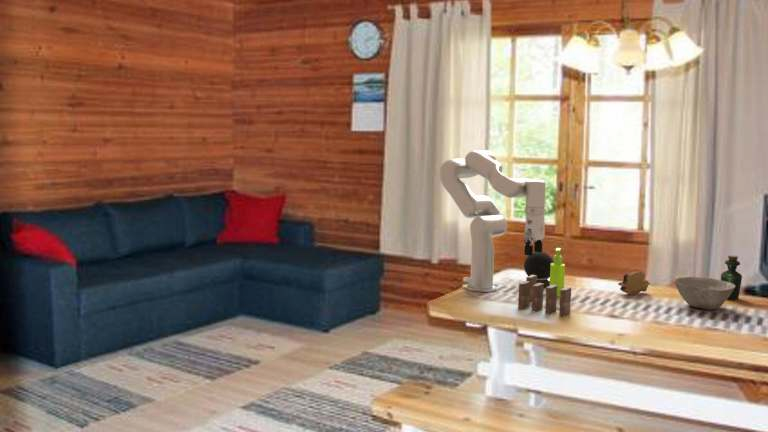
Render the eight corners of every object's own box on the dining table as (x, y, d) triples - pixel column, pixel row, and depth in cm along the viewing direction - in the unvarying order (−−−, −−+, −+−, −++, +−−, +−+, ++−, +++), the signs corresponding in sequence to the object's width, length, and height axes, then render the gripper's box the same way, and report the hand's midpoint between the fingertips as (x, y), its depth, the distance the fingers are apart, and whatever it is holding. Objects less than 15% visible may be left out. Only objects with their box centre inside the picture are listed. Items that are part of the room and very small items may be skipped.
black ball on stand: (559, 287, 327) (560, 253, 325) (531, 288, 324) (532, 254, 322) (544, 281, 340) (546, 248, 338) (518, 282, 336) (519, 249, 335)
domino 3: (531, 311, 285) (532, 285, 284) (537, 308, 290) (538, 282, 289) (536, 311, 284) (537, 286, 283) (542, 308, 289) (543, 283, 288)
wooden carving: (640, 291, 323) (642, 268, 322) (649, 293, 320) (651, 270, 318) (615, 295, 314) (616, 271, 313) (624, 297, 311) (625, 273, 309)
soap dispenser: (548, 296, 309) (550, 248, 307) (549, 293, 316) (551, 246, 313) (562, 297, 308) (565, 249, 305) (564, 294, 314) (566, 247, 312)
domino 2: (525, 301, 300) (526, 277, 299) (531, 298, 305) (532, 274, 304) (530, 302, 299) (531, 277, 298) (536, 299, 304) (537, 275, 303)
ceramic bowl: (703, 316, 281) (705, 290, 280) (659, 302, 303) (661, 278, 301) (747, 312, 290) (749, 287, 288) (701, 298, 311) (703, 275, 310)
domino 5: (559, 315, 279) (560, 289, 278) (564, 312, 284) (566, 286, 283) (564, 316, 278) (565, 290, 277) (570, 313, 283) (571, 287, 282)
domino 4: (545, 313, 282) (546, 287, 281) (551, 310, 287) (552, 284, 286) (550, 314, 281) (551, 288, 280) (556, 311, 286) (557, 285, 285)
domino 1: (518, 308, 288) (519, 283, 287) (524, 305, 293) (525, 280, 292) (522, 309, 287) (524, 284, 286) (529, 306, 292) (530, 281, 291)
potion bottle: (729, 295, 318) (733, 253, 316) (744, 299, 310) (748, 257, 308) (714, 296, 315) (717, 254, 313) (729, 301, 308) (733, 258, 305)
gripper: (535, 213, 288) (533, 257, 290) (552, 209, 303) (550, 251, 305) (517, 212, 292) (515, 255, 294) (534, 208, 307) (533, 249, 309)
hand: (533, 253), depth 300 cm, fingers open, 9 cm apart
